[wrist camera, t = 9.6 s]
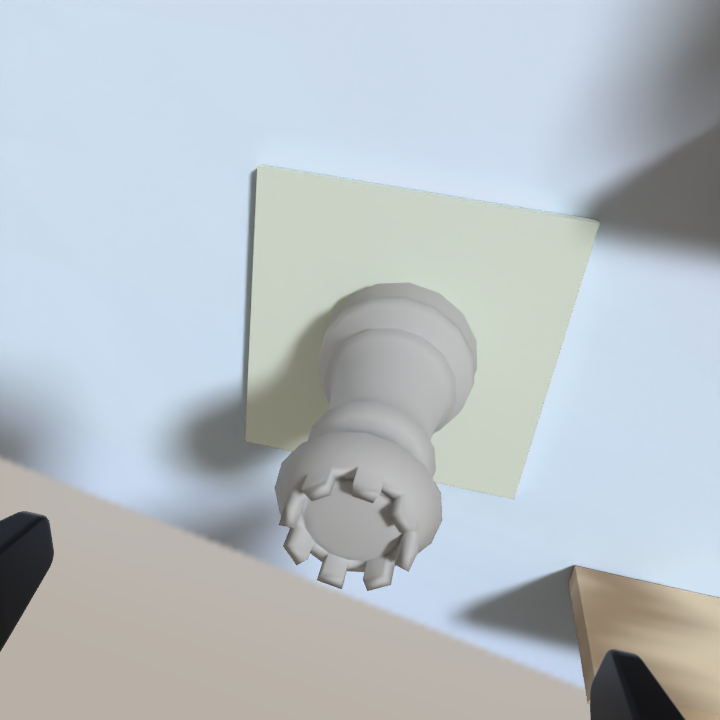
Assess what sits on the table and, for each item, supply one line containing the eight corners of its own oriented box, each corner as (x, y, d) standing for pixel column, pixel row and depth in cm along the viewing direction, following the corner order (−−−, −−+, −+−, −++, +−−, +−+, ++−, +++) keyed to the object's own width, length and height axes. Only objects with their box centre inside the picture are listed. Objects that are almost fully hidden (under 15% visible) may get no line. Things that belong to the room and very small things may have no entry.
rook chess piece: (352, 424, 19) (277, 635, 12) (306, 295, 18) (189, 453, 11) (493, 400, 18) (499, 620, 11) (458, 259, 16) (439, 412, 9)
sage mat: (597, 219, 16) (599, 223, 15) (513, 491, 20) (513, 499, 20) (262, 164, 17) (257, 166, 16) (248, 435, 21) (245, 441, 20)
